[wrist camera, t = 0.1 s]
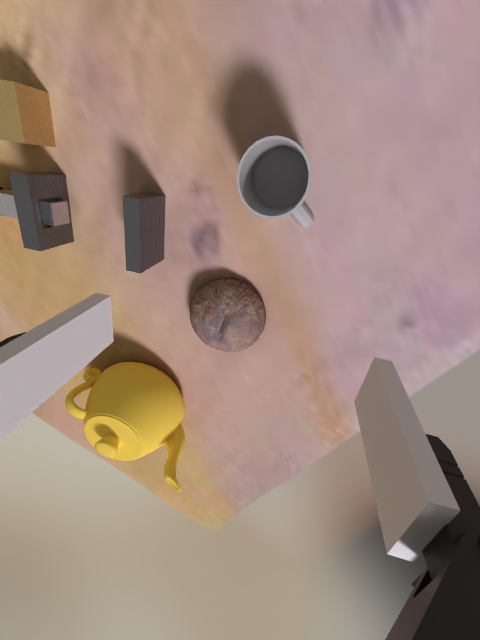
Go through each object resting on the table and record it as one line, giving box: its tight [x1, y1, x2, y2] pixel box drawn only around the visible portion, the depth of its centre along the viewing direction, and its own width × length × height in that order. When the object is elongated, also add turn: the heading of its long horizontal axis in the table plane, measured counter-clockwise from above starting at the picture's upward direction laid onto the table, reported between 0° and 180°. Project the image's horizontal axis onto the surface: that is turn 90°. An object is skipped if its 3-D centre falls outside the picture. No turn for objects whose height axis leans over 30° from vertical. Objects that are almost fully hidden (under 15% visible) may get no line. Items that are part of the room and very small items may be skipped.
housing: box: [8, 172, 165, 273], centre depth 39 cm, size 18×9×7 cm, turn 81°
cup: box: [236, 135, 315, 228], centre depth 32 cm, size 7×10×9 cm
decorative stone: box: [190, 278, 266, 352], centre depth 43 cm, size 12×12×6 cm
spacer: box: [0, 79, 56, 147], centre depth 36 cm, size 4×6×5 cm, turn 171°
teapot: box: [65, 362, 185, 491], centre depth 51 cm, size 25×18×14 cm
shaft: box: [0, 187, 70, 226], centre depth 41 cm, size 12×4×4 cm, turn 81°
